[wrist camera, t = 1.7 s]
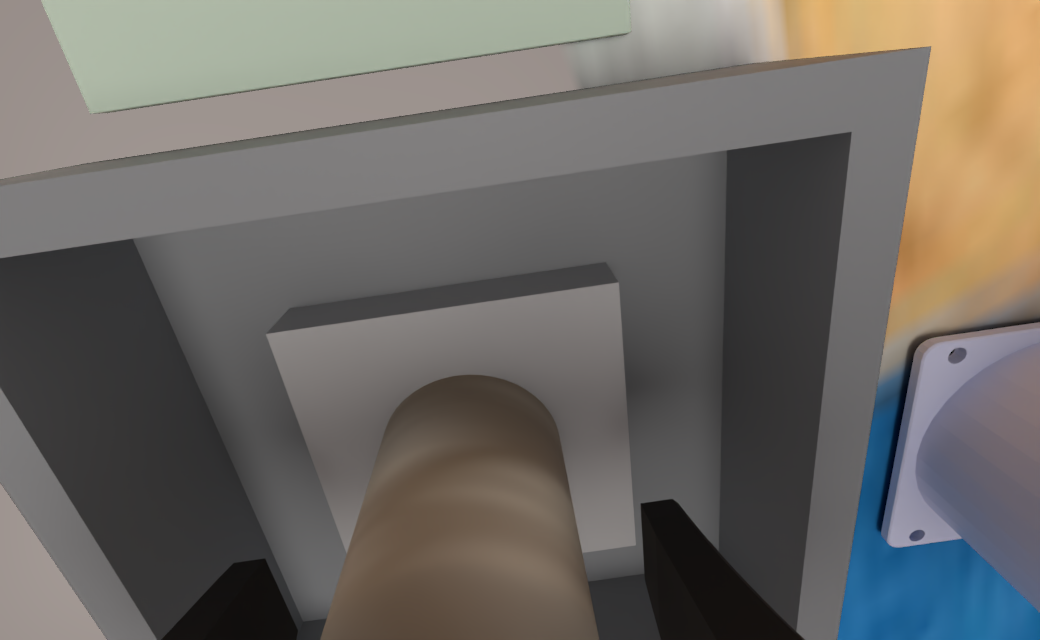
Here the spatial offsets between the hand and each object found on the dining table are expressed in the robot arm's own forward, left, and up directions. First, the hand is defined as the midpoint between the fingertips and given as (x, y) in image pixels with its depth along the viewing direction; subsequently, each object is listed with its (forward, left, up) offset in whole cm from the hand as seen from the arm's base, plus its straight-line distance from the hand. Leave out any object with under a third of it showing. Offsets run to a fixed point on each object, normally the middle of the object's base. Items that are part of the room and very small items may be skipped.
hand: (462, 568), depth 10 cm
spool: (0, 0, -4) cm, 4 cm away
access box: (0, 0, -6) cm, 6 cm away
